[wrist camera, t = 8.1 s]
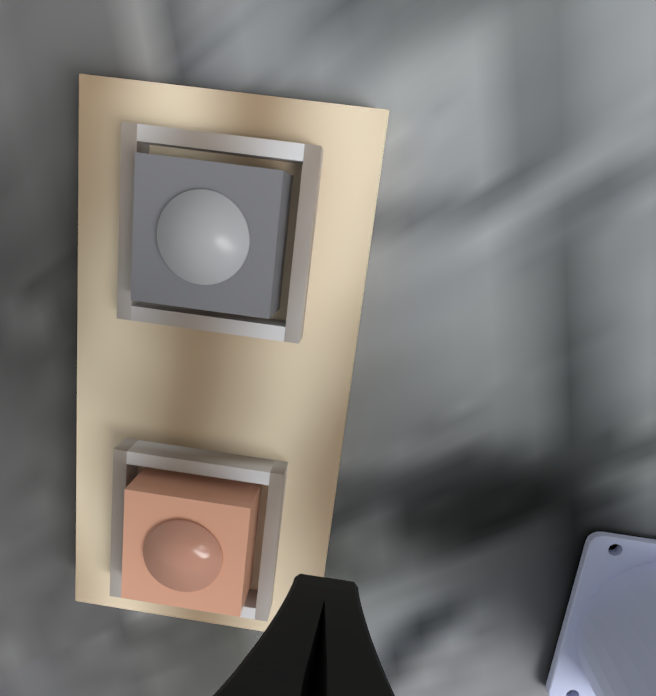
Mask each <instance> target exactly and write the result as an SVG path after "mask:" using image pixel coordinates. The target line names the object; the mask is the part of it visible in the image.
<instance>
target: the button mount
mask: <svg viewBox="0 0 656 696" xmlns="http://www.w3.org/2000/svg"><path fill="white" fill-rule="evenodd" d="M388 117H389V110H385V109H376V108H368V107H359V106H351V105H342V104H334V103H325V102H317V101H308V100H300V99H291V98H283V97H274V96H266V95H257V94H249V93H240V92H232V91H223V90H215V89H206V88H198V87H189V86H181V85H172V84H164V83H155V82H147V81H138V80H130V79H121V78H113V77H104V76H96V75H87V74H79V159H78V311H77V463H76V601H80V602H86V603H92V604H98V605H104V606H110V607H116V608H123V609H129V610H135V611H141V612H147V613H153V614H159V615H166V616H172V617H178V618H184V619H190V620H196V621H202V622H209V623H215V624H221V625H227V626H233V627H239V628H245V629H252V630H258V631H264V632H265V630H266V629H267V627H268V626H269V624H270V623H271V621H272V620H273V618H274V617H275V615H276V613H277V612H278V610H279V608H280V607H281V605H282V603H283V601H284V600H285V598H286V596H287V594H288V592H289V590H290V588H291V586H292V583H293V581H294V578H295V577H296V576H297V575H299V574H306V575H313V576H319V577H324V573H325V566H326V558H327V551H328V544H329V537H330V530H331V523H332V516H333V509H334V501H335V494H336V487H337V480H338V473H339V466H340V459H341V452H342V444H343V437H344V430H345V423H346V416H347V409H348V402H349V395H350V387H351V380H352V373H353V366H354V359H355V352H356V345H357V338H358V330H359V323H360V316H361V309H362V302H363V295H364V288H365V281H366V273H367V266H368V259H369V252H370V245H371V238H372V231H373V224H374V216H375V209H376V202H377V195H378V188H379V181H380V174H381V167H382V159H383V152H384V145H385V138H386V131H387V124H388ZM135 152H138V153H146V154H154V155H162V156H171V157H179V158H187V159H195V160H203V161H211V162H219V163H227V164H235V165H243V166H251V167H259V168H267V169H276V170H284V171H285V172H287V173H289V174H291V175H293V182H292V192H291V202H290V211H289V221H288V231H287V241H286V251H285V261H284V270H283V280H282V290H281V300H280V309H279V310H278V311H277V312H276V313H275V314H274V315H273V316H272V317H271V318H270V319H265V318H258V317H250V316H243V315H236V314H228V313H221V312H214V311H206V310H199V309H192V308H184V307H177V306H170V305H162V304H155V303H148V302H140V301H133V300H131V268H132V237H133V205H134V173H135ZM144 467H150V468H156V469H163V470H170V471H176V472H183V473H189V474H196V475H203V476H209V477H216V478H223V479H229V480H236V481H243V482H249V483H256V484H262V487H261V496H260V506H259V516H258V526H257V536H256V546H255V555H254V565H253V575H252V582H251V585H250V588H249V591H248V594H247V597H246V600H245V603H244V607H243V610H242V613H241V616H240V617H236V616H230V615H224V614H218V613H212V612H205V611H199V610H193V609H187V608H181V607H175V606H168V605H162V604H156V603H150V602H144V601H138V600H131V599H125V598H121V587H122V555H123V523H124V491H125V488H126V487H127V486H128V485H129V484H130V483H131V482H132V481H133V479H134V478H135V477H136V476H137V475H138V474H139V473H140V472H141V471H142V469H143V468H144Z"/></svg>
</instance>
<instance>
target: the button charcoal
mask: <svg viewBox="0 0 656 696" xmlns="http://www.w3.org/2000/svg"><path fill="white" fill-rule="evenodd" d="M292 182H293V175H291V174H289V173H287V172H285V171H284V170H276V169H267V168H259V167H251V166H243V165H235V164H227V163H219V162H211V161H203V160H195V159H187V158H179V157H171V156H162V155H154V154H146V153H138V152H135V173H134V205H133V237H132V268H131V300H133V301H140V302H148V303H155V304H162V305H170V306H177V307H184V308H192V309H199V310H206V311H214V312H221V313H228V314H236V315H243V316H250V317H258V318H265V319H270V318H271V317H272V316H273V315H274V314H275V313H276V312H277V311H278V310H279V309H280V300H281V290H282V280H283V270H284V261H285V251H286V241H287V231H288V221H289V211H290V202H291V192H292Z"/></svg>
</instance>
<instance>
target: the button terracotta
mask: <svg viewBox="0 0 656 696" xmlns="http://www.w3.org/2000/svg"><path fill="white" fill-rule="evenodd" d="M261 487H262V484H256V483H249V482H243V481H236V480H229V479H223V478H216V477H209V476H203V475H196V474H189V473H183V472H176V471H170V470H163V469H156V468H150V467H144V468H143V469H142V471H141V472H140V473H139V474H138V475H137V476H136V477H135V478H134V479H133V481H132V482H131V483H130V484H129V485H128V486H127V487H126V488H125V491H124V523H123V555H122V587H121V598H125V599H131V600H138V601H144V602H150V603H156V604H162V605H168V606H175V607H181V608H187V609H193V610H199V611H205V612H212V613H218V614H224V615H230V616H236V617H240V616H241V613H242V610H243V607H244V603H245V600H246V597H247V594H248V591H249V588H250V585H251V582H252V575H253V565H254V555H255V546H256V536H257V526H258V516H259V506H260V496H261Z"/></svg>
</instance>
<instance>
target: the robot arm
mask: <svg viewBox="0 0 656 696" xmlns="http://www.w3.org/2000/svg"><path fill="white" fill-rule="evenodd" d="M613 544H618V545H617V547H616V548H615V549H613V550H608V549H609V547H610V546H611V545H613ZM546 690H547V692H548V695H549V696H656V540H655V539H648V538H641V537H635V536H628V535H621V534H615V533H608V532H594V533H592V534H590V535H589V536H588V537H587V539H586V541H585V545H584V548H583V552H582V556H581V559H580V563H579V567H578V570H577V574H576V577H575V581H574V585H573V588H572V592H571V596H570V599H569V603H568V606H567V610H566V614H565V617H564V621H563V624H562V628H561V632H560V635H559V639H558V643H557V646H556V650H555V653H554V657H553V661H552V664H551V668H550V672H549V675H548V679H547V682H546ZM570 690H574V691H572V692H568V691H570ZM213 696H395V695H394V693H393V691H392V689H391V686H390V684H389V682H388V680H387V678H386V675H385V673H384V670H383V668H382V666H381V663H380V661H379V658H378V655H377V653H376V650H375V647H374V645H373V642H372V639H371V636H370V633H369V630H368V627H367V624H366V621H365V617H364V614H363V610H362V607H361V602H360V598H359V592H358V587H357V586H356V584H355V583H354V582H351V581H344V580H338V579H332V578H325V577H319V576H313V575H306V574H299V575H297V576H296V577H295V578H294V581H293V583H292V586H291V588H290V590H289V592H288V594H287V596H286V598H285V600H284V601H283V603H282V605H281V607H280V608H279V610H278V612H277V613H276V615H275V617H274V618H273V620H272V621H271V623H270V624H269V626H268V627H267V629H266V630H265V632H264V633H263V635H262V636H261V638H260V639H259V640H258V642H257V643H256V644H255V646H254V647H253V648H252V650H251V651H250V652H249V653H248V655H247V656H246V657H245V659H244V660H243V661H242V663H241V664H240V665H239V666H238V668H237V669H236V670H235V671H234V673H233V674H232V675H231V676H230V677H229V678H228V680H227V681H226V682H225V683H224V684H223V685H222V686H221V688H220V689H219V690H218V691H217V692H216V693H215V694H214V695H213Z"/></svg>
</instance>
